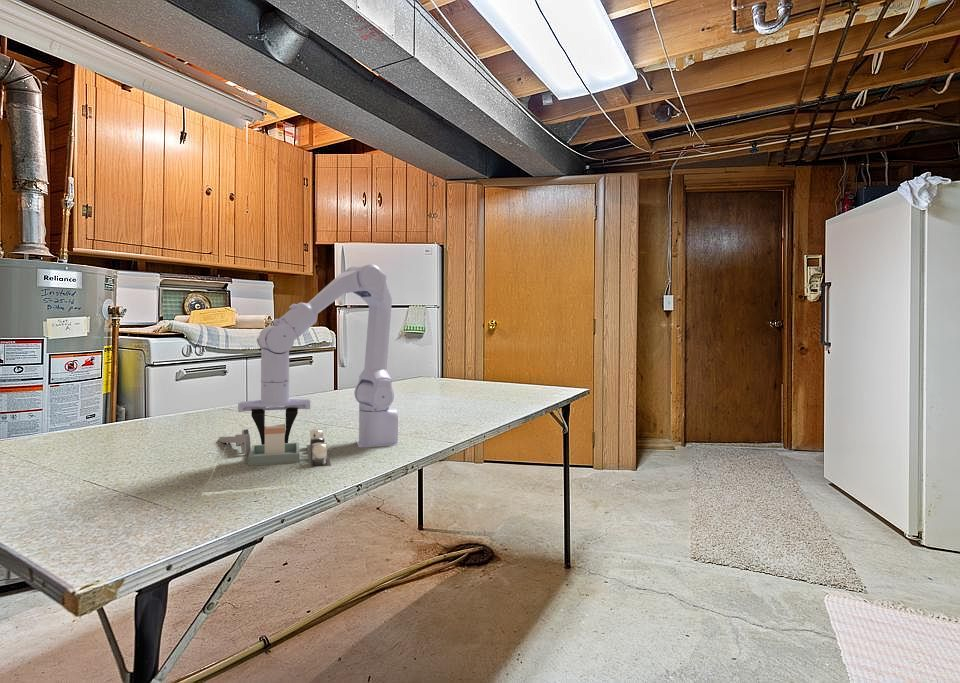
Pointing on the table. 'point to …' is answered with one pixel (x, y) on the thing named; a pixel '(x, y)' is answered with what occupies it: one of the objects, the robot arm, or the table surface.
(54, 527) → the table surface
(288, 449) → the tray
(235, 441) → the caliper
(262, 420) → the robot arm
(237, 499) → the table surface
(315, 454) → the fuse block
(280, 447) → the beige and orange block
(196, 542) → the table surface
